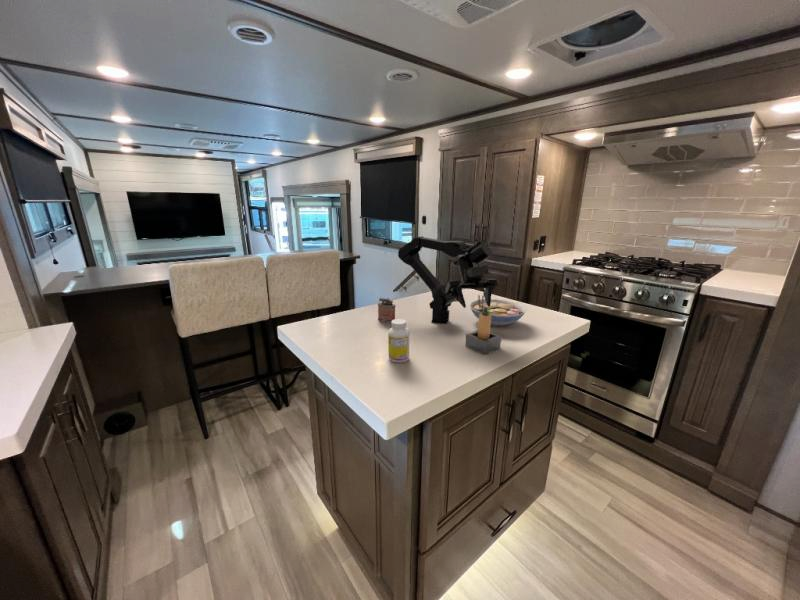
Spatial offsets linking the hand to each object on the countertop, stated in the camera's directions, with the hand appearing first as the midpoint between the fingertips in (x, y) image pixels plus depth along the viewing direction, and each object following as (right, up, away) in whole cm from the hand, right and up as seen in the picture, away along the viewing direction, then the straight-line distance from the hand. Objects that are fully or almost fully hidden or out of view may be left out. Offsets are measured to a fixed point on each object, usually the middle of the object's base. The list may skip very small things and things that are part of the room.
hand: (477, 306), depth 111 cm
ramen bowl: (+13, -8, +21) cm, 26 cm away
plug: (+1, -14, -2) cm, 14 cm away
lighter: (-33, -7, +23) cm, 41 cm away
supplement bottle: (-28, -17, -11) cm, 34 cm away
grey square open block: (+1, -14, -2) cm, 14 cm away
